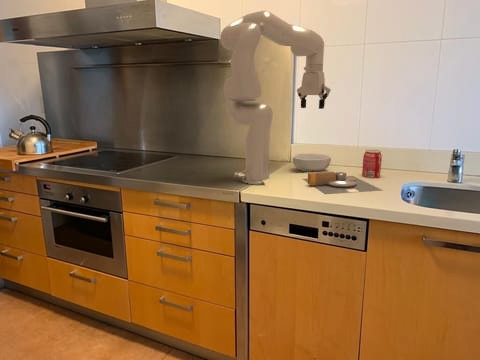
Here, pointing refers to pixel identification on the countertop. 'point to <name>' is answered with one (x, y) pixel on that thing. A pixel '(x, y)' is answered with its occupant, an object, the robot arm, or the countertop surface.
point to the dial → (331, 179)
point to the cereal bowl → (311, 162)
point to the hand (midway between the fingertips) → (312, 108)
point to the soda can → (372, 164)
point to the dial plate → (360, 187)
